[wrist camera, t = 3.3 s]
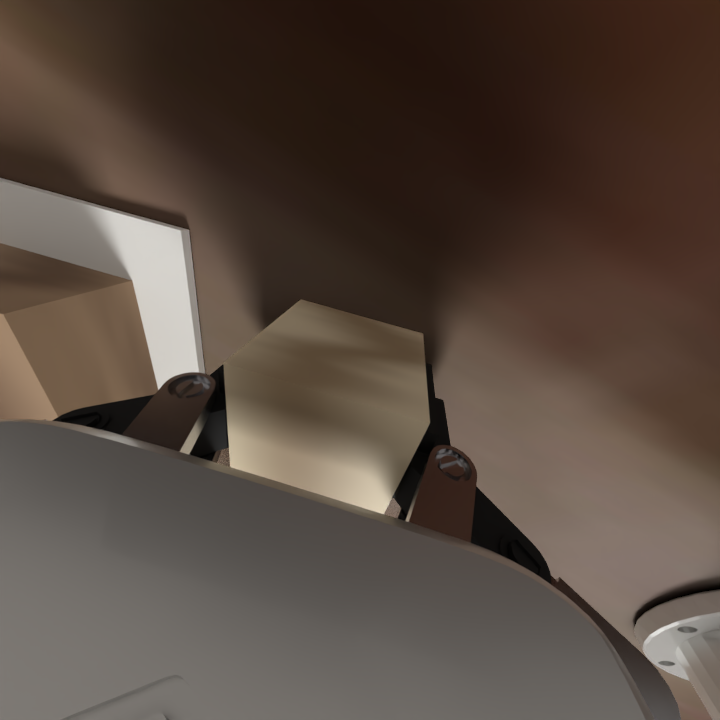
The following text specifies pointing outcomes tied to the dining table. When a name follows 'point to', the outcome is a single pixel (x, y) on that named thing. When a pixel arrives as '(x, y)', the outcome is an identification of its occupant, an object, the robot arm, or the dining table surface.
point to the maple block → (328, 404)
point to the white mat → (117, 263)
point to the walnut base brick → (67, 338)
